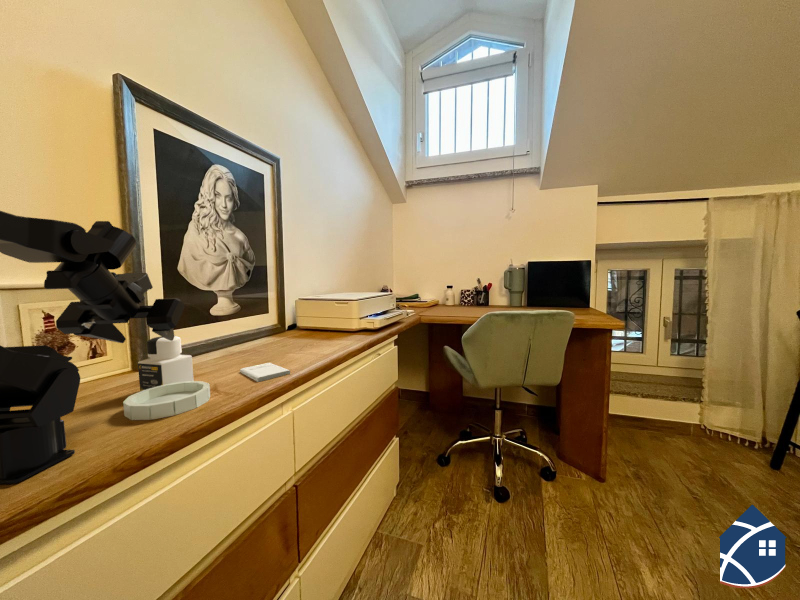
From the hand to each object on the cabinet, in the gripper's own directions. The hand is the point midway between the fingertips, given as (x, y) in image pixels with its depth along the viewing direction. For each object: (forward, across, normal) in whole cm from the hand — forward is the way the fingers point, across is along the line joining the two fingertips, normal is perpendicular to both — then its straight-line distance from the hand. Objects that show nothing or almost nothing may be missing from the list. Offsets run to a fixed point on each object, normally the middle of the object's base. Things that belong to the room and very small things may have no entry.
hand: (148, 339), depth 62 cm
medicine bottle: (+12, 0, +5) cm, 13 cm away
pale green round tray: (+5, -6, +12) cm, 15 cm away
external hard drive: (+18, -19, 0) cm, 26 cm away
